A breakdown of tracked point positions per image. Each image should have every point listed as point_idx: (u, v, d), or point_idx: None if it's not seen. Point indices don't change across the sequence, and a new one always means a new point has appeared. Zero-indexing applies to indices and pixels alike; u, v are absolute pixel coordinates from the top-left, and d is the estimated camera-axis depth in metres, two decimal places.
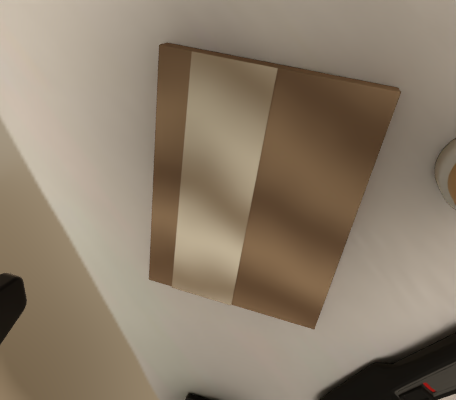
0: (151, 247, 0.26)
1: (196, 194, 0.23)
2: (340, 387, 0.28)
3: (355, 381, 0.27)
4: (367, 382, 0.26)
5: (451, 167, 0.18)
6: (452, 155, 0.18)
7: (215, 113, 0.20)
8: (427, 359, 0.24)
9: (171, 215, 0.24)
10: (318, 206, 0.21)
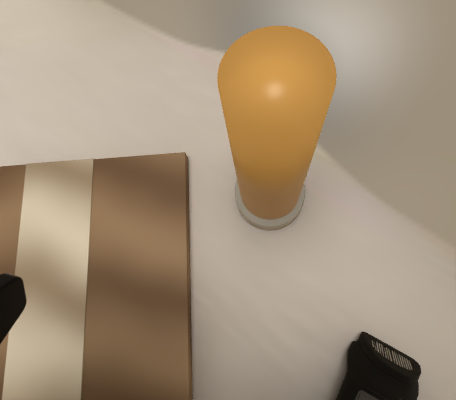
0: None
1: (30, 294, 0.22)
2: None
3: None
4: None
5: (239, 189, 0.22)
6: (237, 182, 0.23)
7: (47, 205, 0.24)
8: None
9: None
10: (151, 265, 0.22)
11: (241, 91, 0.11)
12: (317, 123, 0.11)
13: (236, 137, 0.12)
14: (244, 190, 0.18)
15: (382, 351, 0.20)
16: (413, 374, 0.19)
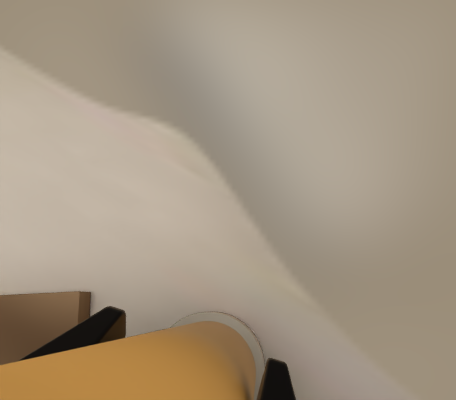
0: None
1: None
2: None
3: None
4: None
5: None
6: None
7: None
8: None
9: None
10: None
11: None
12: None
13: None
14: None
15: None
16: None
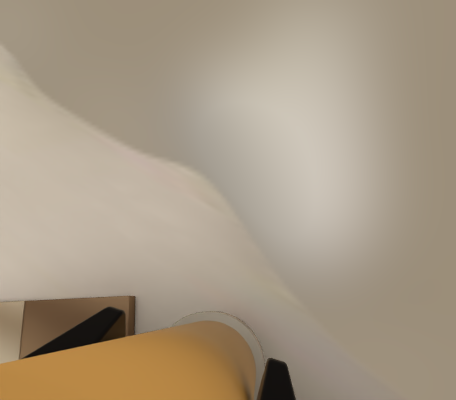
0: None
1: None
2: None
3: None
4: None
5: None
6: None
7: None
8: None
9: None
10: None
11: None
12: None
13: None
14: None
15: None
16: None
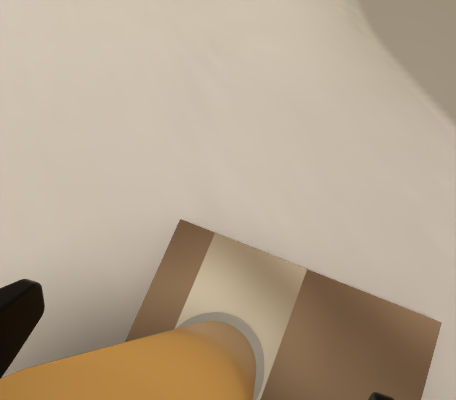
0: None
1: None
2: None
3: None
4: None
5: None
6: None
7: (224, 306, 0.17)
8: None
9: None
10: None
11: None
12: None
13: None
14: None
15: None
16: None
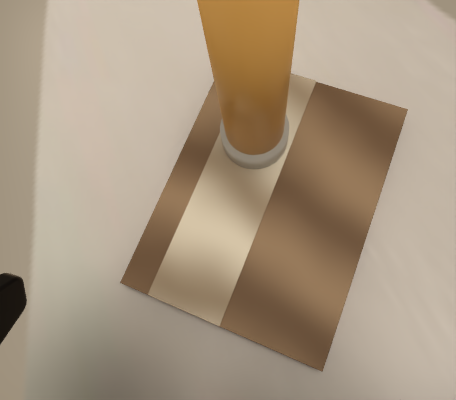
0: (143, 235, 0.23)
1: (218, 177, 0.23)
2: None
3: None
4: None
5: (224, 127, 0.22)
6: (221, 120, 0.23)
7: None
8: None
9: (183, 197, 0.23)
10: (339, 198, 0.22)
11: None
12: None
13: (209, 24, 0.12)
14: (226, 113, 0.18)
15: None
16: None
